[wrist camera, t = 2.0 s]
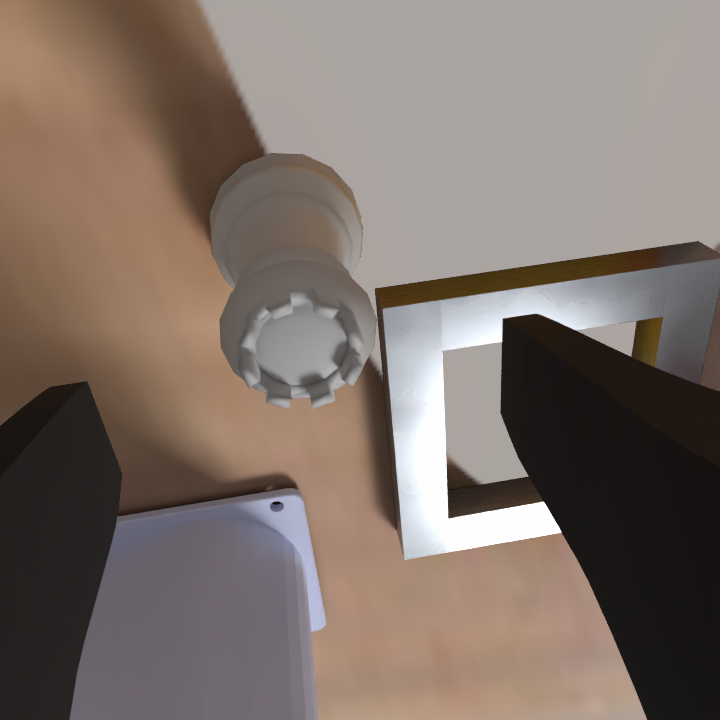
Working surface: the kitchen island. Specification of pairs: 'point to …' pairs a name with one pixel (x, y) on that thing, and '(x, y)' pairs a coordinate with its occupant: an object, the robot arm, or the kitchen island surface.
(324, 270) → the rook chess piece
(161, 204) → the kitchen island surface
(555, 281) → the hollow square block
